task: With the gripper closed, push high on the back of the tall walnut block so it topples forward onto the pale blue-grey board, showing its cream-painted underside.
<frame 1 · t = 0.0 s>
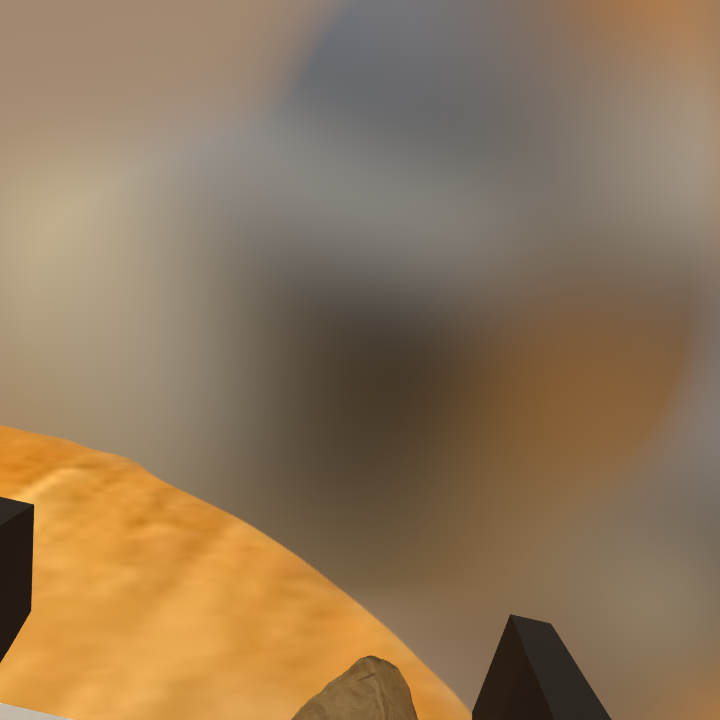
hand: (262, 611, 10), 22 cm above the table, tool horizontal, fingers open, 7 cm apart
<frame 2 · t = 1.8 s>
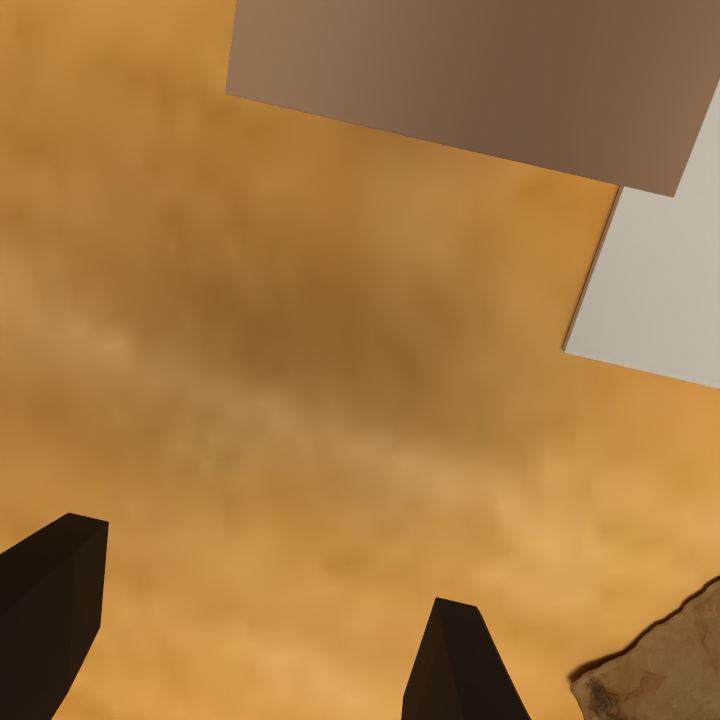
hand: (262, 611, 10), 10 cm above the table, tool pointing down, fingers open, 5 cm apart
rock: (718, 622, 22), on the table
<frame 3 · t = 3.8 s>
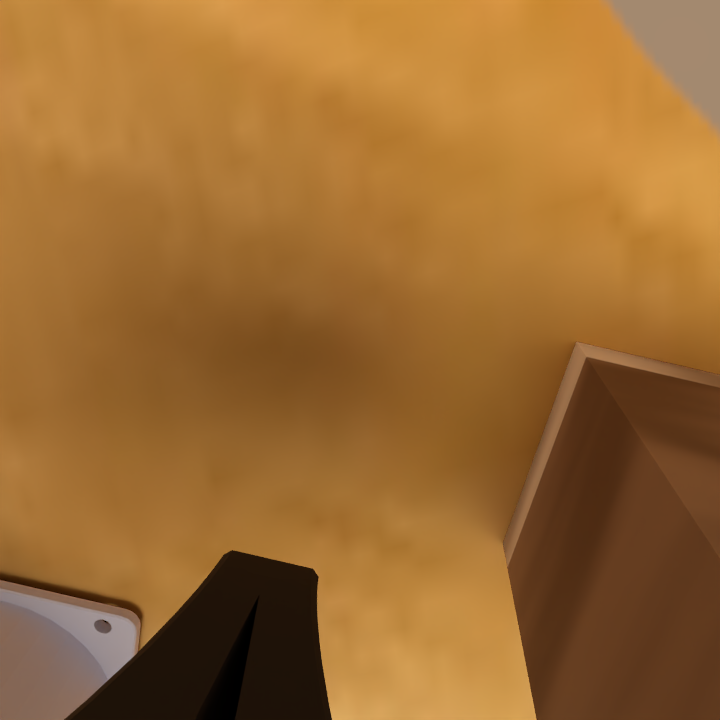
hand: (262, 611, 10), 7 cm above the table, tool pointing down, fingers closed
walnut block: (632, 471, 17), on the table
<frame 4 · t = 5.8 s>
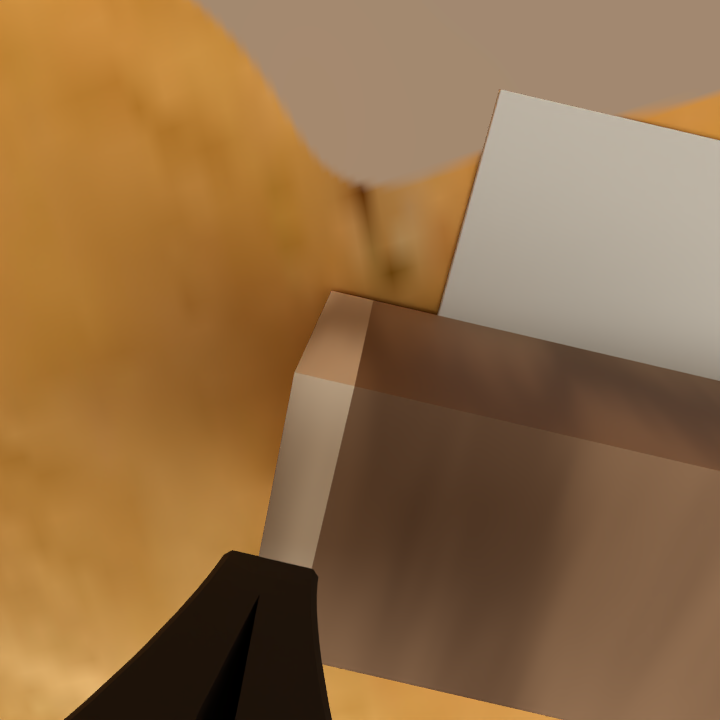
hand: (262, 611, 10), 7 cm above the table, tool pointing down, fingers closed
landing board: (674, 483, 17), on the table
walnut block: (290, 452, 14), point 3 cm above the table, tilted 90°, touching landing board
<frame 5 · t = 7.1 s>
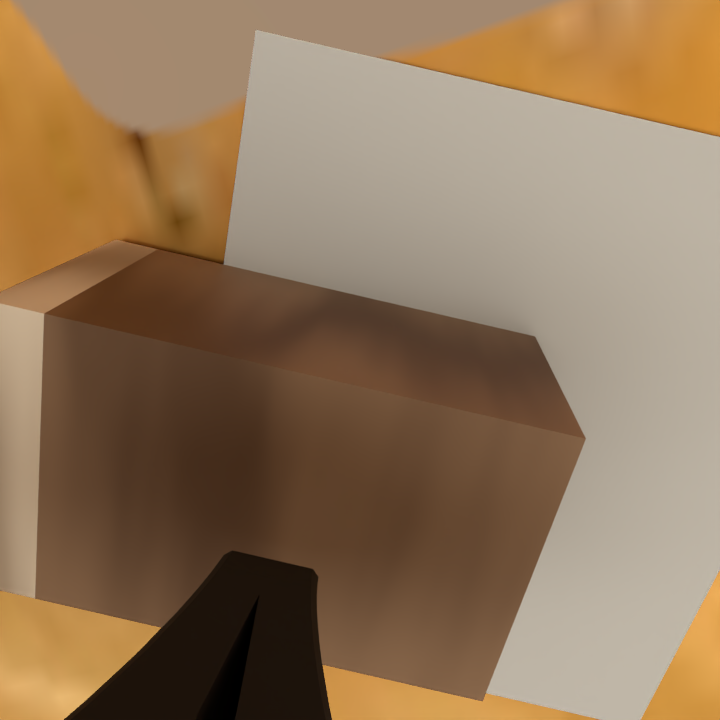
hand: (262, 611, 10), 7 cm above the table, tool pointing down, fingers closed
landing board: (479, 436, 17), on the table
walnut block: (56, 398, 14), point 3 cm above the table, tilted 90°, touching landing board
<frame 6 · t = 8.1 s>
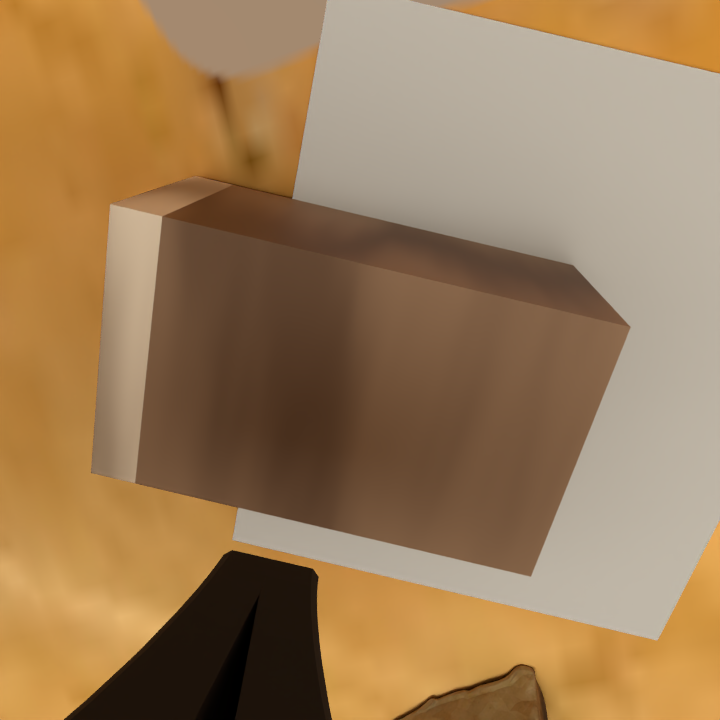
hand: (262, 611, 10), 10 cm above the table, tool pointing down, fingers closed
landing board: (519, 361, 18), on the table
walnut block: (147, 313, 16), point 3 cm above the table, tilted 90°, touching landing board
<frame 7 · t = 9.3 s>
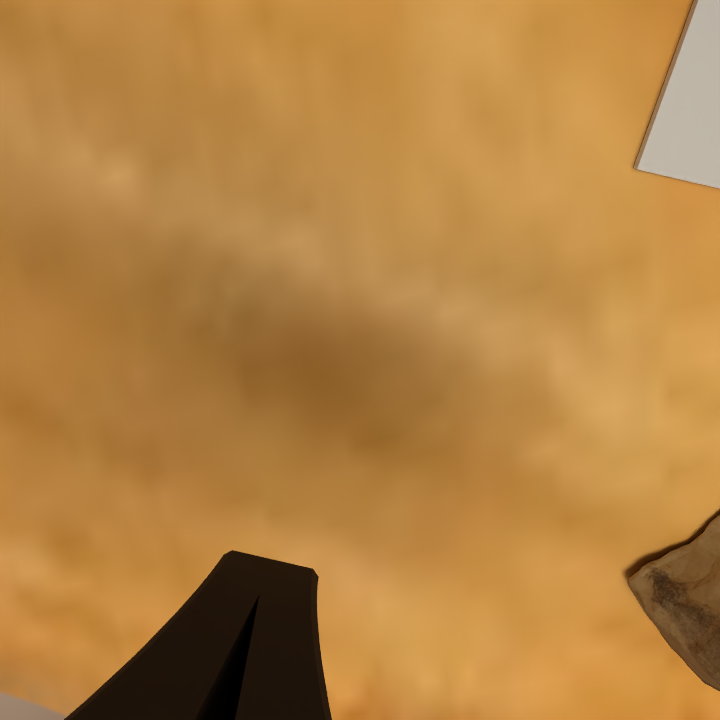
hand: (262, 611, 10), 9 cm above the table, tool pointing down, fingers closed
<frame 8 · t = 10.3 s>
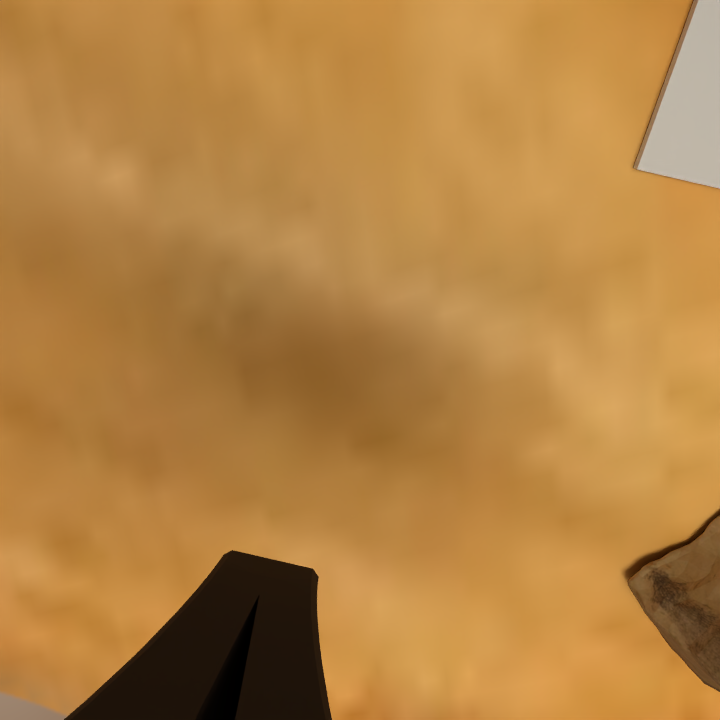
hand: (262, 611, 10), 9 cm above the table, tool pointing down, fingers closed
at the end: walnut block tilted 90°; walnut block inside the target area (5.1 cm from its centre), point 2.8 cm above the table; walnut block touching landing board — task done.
